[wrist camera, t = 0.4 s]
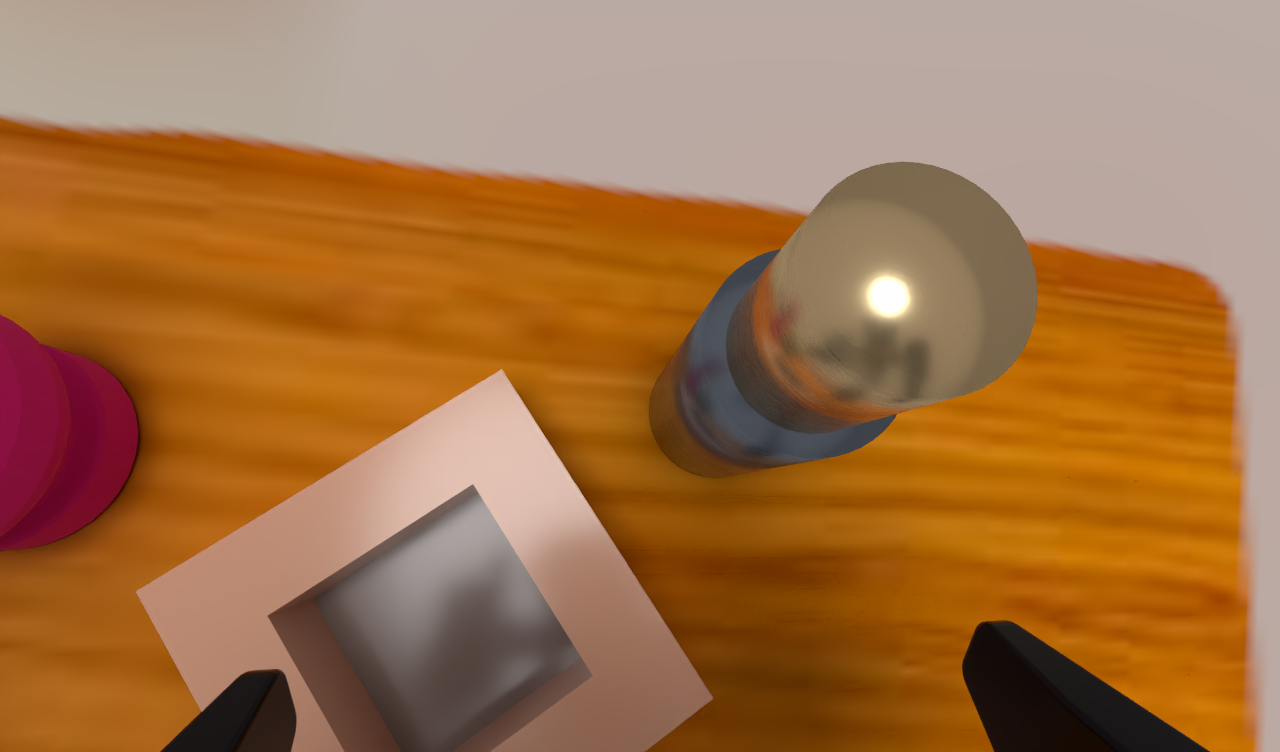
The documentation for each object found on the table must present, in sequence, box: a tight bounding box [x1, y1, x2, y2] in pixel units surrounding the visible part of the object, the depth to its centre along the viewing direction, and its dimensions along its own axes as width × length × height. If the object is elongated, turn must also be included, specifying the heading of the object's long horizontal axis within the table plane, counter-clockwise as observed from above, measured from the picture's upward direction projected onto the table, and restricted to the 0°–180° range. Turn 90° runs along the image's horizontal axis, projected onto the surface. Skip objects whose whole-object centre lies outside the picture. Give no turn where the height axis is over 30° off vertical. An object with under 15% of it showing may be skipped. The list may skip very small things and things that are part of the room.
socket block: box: [136, 369, 713, 752], centre depth 19 cm, size 11×11×4 cm
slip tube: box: [649, 162, 1037, 477], centre depth 16 cm, size 5×5×14 cm
